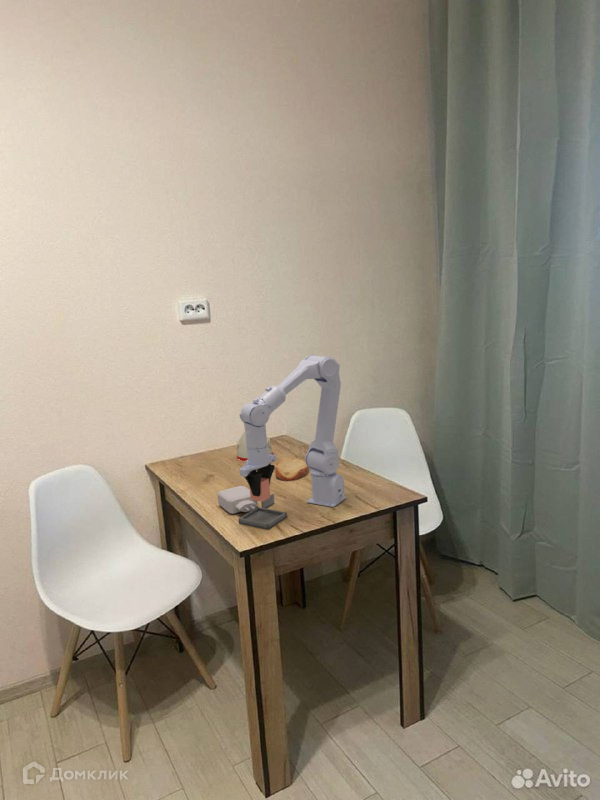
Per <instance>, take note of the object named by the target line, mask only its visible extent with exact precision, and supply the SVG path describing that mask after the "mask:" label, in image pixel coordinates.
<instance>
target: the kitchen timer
mask: <svg viewBox="0 0 600 800" xmlns="http://www.w3.org/2000/svg"><path fill="white" fill-rule="evenodd" d="M266 438H267V450H268V455H269V454H274V453H273V448H272V443H271V439H270V437H267V435H266ZM236 443H237V445H236V457H237V458H238V459H240V460H242V461H246V460H248V458H247V447H246V435H245V431H244V432H243V433H242V435H241V436H240V438H239V440H238V441H236ZM238 459H237V460H238Z"/></svg>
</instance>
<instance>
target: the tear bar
mask: <svg viewBox="0 0 600 800" xmlns="http://www.w3.org/2000/svg"><path fill="white" fill-rule="evenodd" d="M260 502H261V506H260V507H261V508H266V509H269V507H271V506H272V505H274V504H275V494H274V493H272V494H270V498H268V499H266V500H265V501H263V502H262V501H260Z"/></svg>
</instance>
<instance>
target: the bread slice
mask: <svg viewBox="0 0 600 800" xmlns="http://www.w3.org/2000/svg"><path fill="white" fill-rule="evenodd" d="M274 471H275V472H274V473H275V476H276V478H277V479H279V480H281V481H284V482H292V481H293V482H294V481H298V480H300V479H301V478H304V477H306V476H307V475H308V474H309V473H310V468H309V467H308V466H307V465H306V463H305V460H304V459H300V458H297V457H283V458H282V459H281V460H280V461H279V462H278V464H277V466H276V468H275V470H274Z"/></svg>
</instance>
